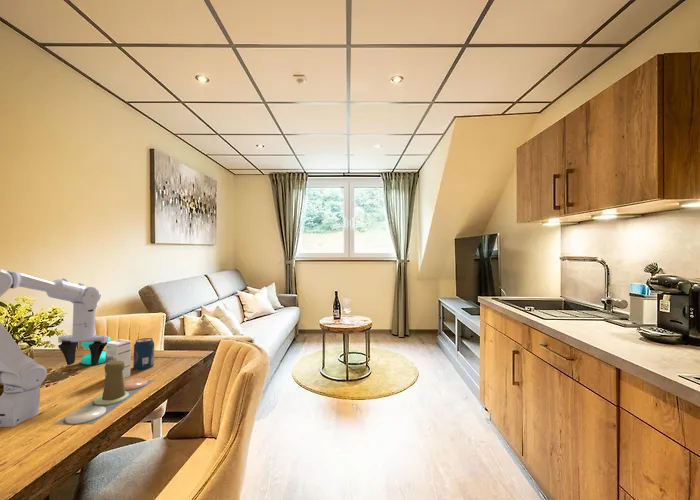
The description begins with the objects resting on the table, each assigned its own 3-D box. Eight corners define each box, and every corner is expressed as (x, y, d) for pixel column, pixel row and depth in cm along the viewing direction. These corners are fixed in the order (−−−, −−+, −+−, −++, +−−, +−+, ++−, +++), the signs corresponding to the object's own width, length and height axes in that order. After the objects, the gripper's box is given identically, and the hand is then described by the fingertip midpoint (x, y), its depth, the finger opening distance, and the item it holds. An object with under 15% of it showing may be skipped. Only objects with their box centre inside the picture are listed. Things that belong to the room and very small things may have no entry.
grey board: (92, 427, 87) (92, 423, 87) (54, 427, 86) (54, 424, 86) (154, 382, 117) (154, 380, 117) (125, 382, 116) (125, 380, 116)
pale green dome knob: (116, 405, 97) (116, 403, 97) (86, 405, 97) (86, 403, 97) (135, 392, 106) (135, 390, 106) (107, 392, 106) (107, 390, 106)
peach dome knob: (137, 390, 108) (137, 388, 108) (110, 390, 107) (110, 388, 107) (152, 380, 117) (152, 378, 117) (127, 380, 116) (127, 378, 116)
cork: (114, 401, 99) (115, 365, 99) (96, 399, 99) (97, 364, 99) (130, 392, 105) (131, 359, 105) (113, 391, 105) (114, 358, 105)
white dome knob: (90, 423, 87) (90, 421, 87) (56, 424, 86) (56, 421, 86) (113, 407, 96) (113, 405, 96) (82, 408, 95) (82, 406, 95)
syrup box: (131, 378, 120) (132, 339, 121) (115, 384, 115) (117, 343, 115) (119, 376, 122) (120, 338, 122) (103, 382, 116) (105, 342, 116)
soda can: (132, 368, 130) (132, 339, 130) (151, 365, 134) (152, 336, 135) (134, 374, 125) (135, 343, 125) (155, 370, 129) (156, 340, 129)
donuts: (116, 336, 141) (92, 342, 131) (116, 359, 140) (91, 367, 131) (100, 334, 143) (75, 340, 134) (99, 356, 143) (74, 364, 134)
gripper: (115, 320, 110) (113, 360, 110) (71, 320, 109) (69, 359, 109) (100, 325, 103) (98, 367, 103) (53, 324, 102) (51, 367, 102)
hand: (82, 364), depth 105 cm, fingers open, 7 cm apart
